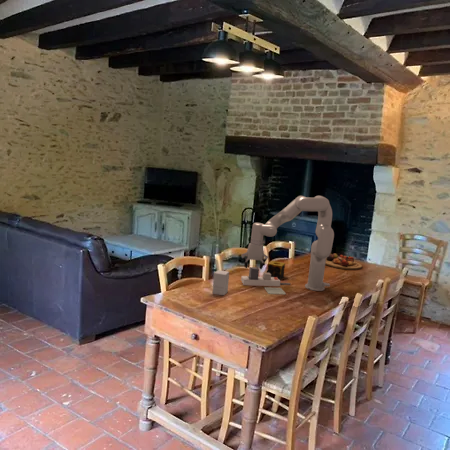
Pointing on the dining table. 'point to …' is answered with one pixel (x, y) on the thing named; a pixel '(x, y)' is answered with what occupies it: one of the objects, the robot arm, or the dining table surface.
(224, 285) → the supplement box
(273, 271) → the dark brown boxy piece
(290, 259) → the dining table surface
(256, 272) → the block
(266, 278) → the small plug
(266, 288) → the felt pad
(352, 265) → the wooden plate with food
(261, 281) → the power strip
